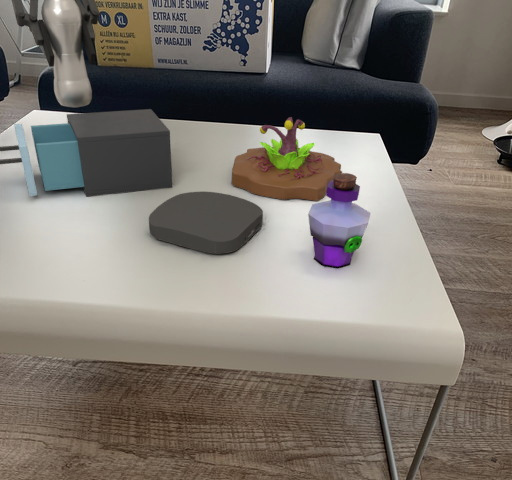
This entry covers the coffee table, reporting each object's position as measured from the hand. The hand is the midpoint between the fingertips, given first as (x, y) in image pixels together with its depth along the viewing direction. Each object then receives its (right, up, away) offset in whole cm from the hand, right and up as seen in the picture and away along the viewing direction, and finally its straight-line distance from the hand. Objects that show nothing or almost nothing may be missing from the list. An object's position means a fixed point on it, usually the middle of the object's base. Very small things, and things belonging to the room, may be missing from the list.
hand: (72, 60), depth 92 cm
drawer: (-3, -20, 0) cm, 21 cm away
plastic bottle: (-2, -5, +8) cm, 9 cm away
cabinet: (+7, -19, +4) cm, 21 cm away
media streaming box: (+24, -31, -9) cm, 40 cm away
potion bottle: (+42, -36, -15) cm, 57 cm away
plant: (+36, -18, +8) cm, 41 cm away
